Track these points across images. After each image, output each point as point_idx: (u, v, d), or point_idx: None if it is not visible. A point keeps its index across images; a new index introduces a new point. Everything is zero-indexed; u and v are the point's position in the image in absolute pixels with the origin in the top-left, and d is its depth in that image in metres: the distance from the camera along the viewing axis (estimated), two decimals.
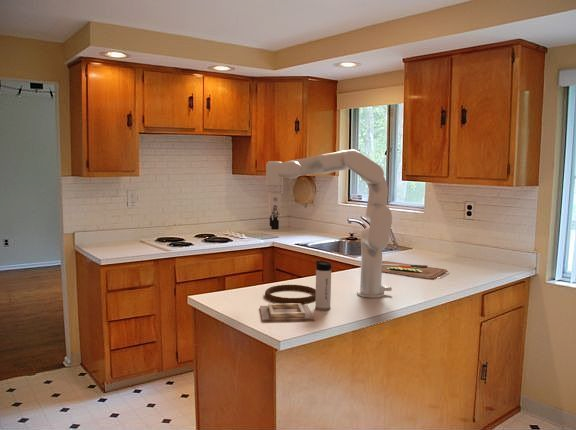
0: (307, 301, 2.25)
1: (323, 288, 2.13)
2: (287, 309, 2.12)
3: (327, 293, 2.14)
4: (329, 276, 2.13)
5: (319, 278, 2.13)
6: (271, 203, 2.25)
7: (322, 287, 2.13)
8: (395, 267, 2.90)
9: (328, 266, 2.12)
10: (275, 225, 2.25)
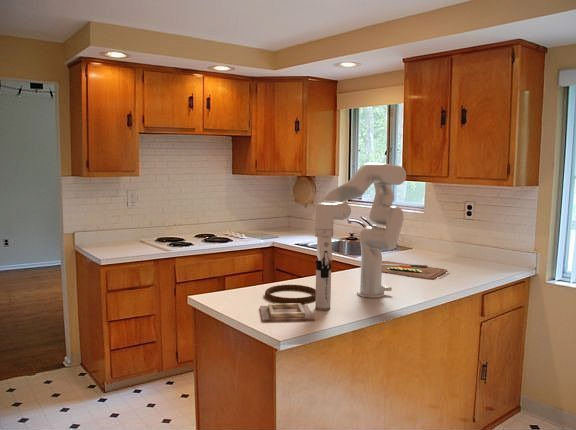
0: (307, 301, 2.25)
1: (323, 287, 2.13)
2: (287, 309, 2.12)
3: (327, 293, 2.14)
4: (329, 276, 2.13)
5: (319, 278, 2.13)
6: (321, 248, 2.09)
7: (322, 287, 2.13)
8: (395, 267, 2.90)
9: None
10: (325, 273, 2.11)
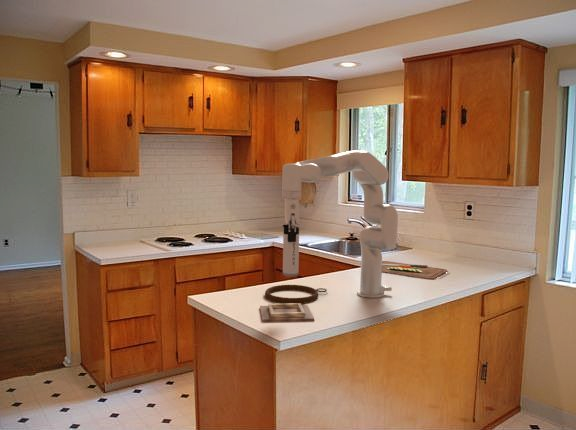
0: (307, 301, 2.25)
1: (290, 252, 2.03)
2: (287, 309, 2.12)
3: (294, 258, 2.04)
4: (297, 240, 2.04)
5: (287, 243, 2.03)
6: (288, 211, 2.00)
7: (289, 252, 2.03)
8: (395, 267, 2.90)
9: None
10: (292, 237, 2.01)
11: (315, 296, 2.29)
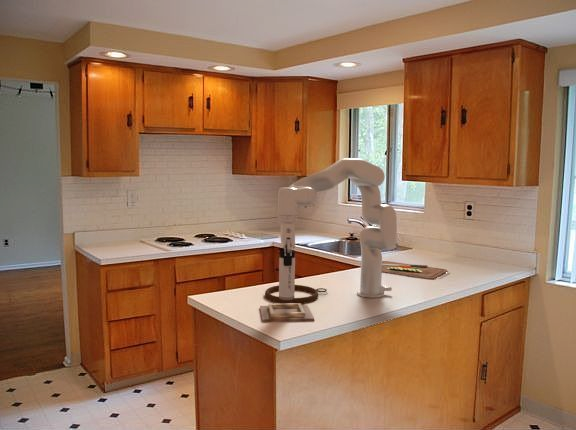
0: (307, 301, 2.25)
1: (286, 276, 2.03)
2: (287, 309, 2.12)
3: (290, 282, 2.04)
4: (292, 264, 2.04)
5: (282, 266, 2.03)
6: (284, 235, 2.00)
7: (285, 276, 2.03)
8: (395, 267, 2.90)
9: None
10: (288, 261, 2.01)
11: (315, 296, 2.29)
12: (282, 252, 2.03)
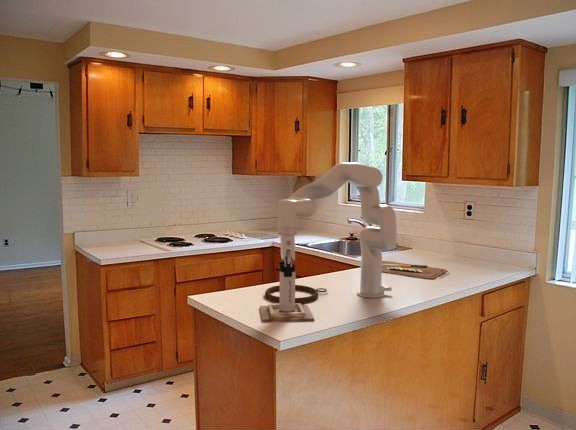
0: (307, 301, 2.25)
1: (287, 290, 2.04)
2: None
3: (291, 296, 2.05)
4: (293, 278, 2.05)
5: (283, 280, 2.04)
6: (284, 247, 2.00)
7: (285, 290, 2.04)
8: (395, 267, 2.90)
9: None
10: (288, 272, 2.01)
11: (315, 296, 2.29)
12: (282, 266, 2.04)
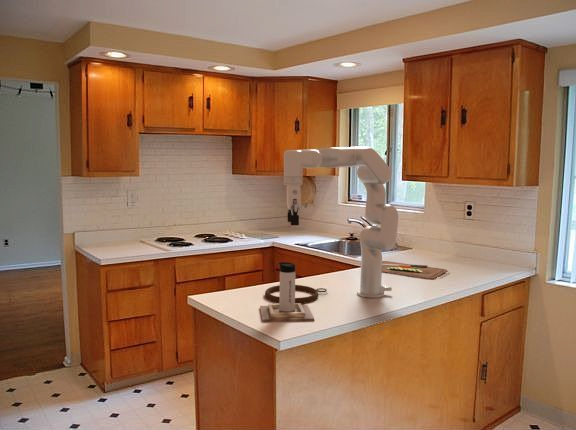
0: (307, 301, 2.25)
1: (287, 290, 2.04)
2: None
3: (291, 296, 2.05)
4: (293, 278, 2.05)
5: (283, 280, 2.04)
6: (290, 196, 2.04)
7: (285, 290, 2.04)
8: (395, 267, 2.90)
9: (292, 268, 2.04)
10: (295, 220, 2.04)
11: (315, 296, 2.29)
12: (282, 266, 2.04)
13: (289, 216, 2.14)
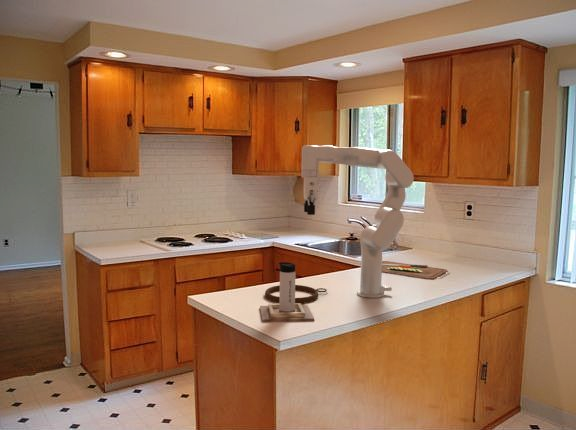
0: (307, 301, 2.25)
1: (287, 290, 2.04)
2: None
3: (291, 296, 2.05)
4: (293, 278, 2.05)
5: (283, 280, 2.04)
6: (307, 188, 2.21)
7: (285, 290, 2.04)
8: (395, 267, 2.90)
9: (292, 268, 2.04)
10: (311, 210, 2.21)
11: (315, 296, 2.29)
12: (283, 266, 2.04)
13: (305, 207, 2.31)
